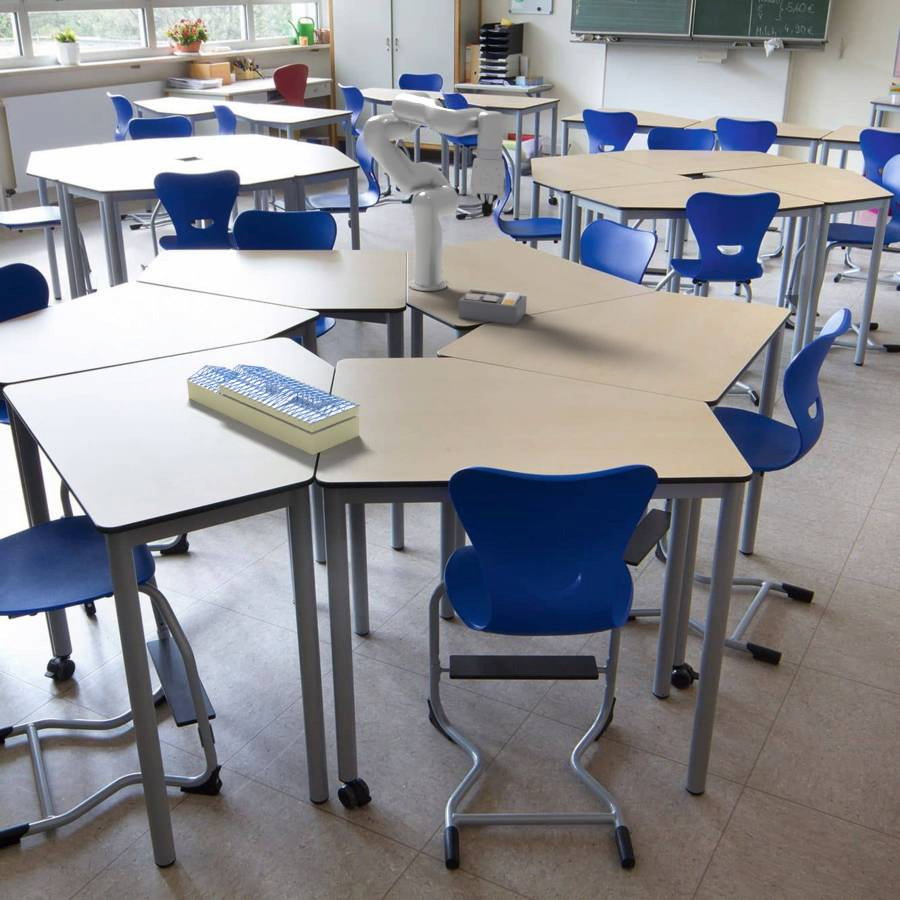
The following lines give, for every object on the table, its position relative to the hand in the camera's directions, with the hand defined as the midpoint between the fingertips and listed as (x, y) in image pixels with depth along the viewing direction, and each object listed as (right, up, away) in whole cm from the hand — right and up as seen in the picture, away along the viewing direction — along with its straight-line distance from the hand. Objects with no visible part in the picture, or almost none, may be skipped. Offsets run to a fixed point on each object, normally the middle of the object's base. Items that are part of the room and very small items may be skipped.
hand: (487, 215), depth 303 cm
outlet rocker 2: (+2, -27, -4) cm, 27 cm away
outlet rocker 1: (-4, -26, -3) cm, 26 cm away
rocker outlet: (+7, -28, -6) cm, 29 cm away
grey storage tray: (+2, -31, -2) cm, 31 cm away
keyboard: (-53, -65, -74) cm, 112 cm away
